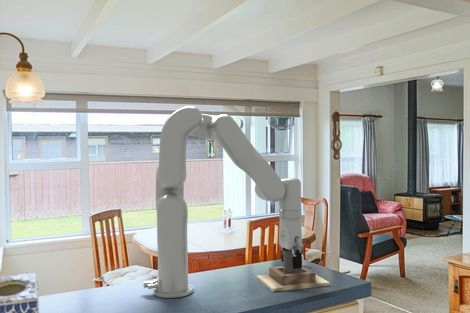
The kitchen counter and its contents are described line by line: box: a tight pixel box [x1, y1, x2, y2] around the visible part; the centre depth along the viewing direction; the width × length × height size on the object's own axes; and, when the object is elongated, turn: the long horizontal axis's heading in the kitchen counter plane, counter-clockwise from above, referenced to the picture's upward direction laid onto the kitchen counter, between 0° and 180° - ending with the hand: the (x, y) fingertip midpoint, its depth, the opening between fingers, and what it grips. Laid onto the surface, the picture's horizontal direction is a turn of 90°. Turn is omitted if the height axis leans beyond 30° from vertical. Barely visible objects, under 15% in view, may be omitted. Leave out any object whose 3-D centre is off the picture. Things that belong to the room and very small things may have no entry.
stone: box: [282, 249, 299, 274], centre depth 146 cm, size 3×6×10 cm, turn 83°
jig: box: [256, 265, 331, 292], centre depth 146 cm, size 20×16×4 cm
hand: (291, 264), depth 146 cm, fingers open, 9 cm apart
